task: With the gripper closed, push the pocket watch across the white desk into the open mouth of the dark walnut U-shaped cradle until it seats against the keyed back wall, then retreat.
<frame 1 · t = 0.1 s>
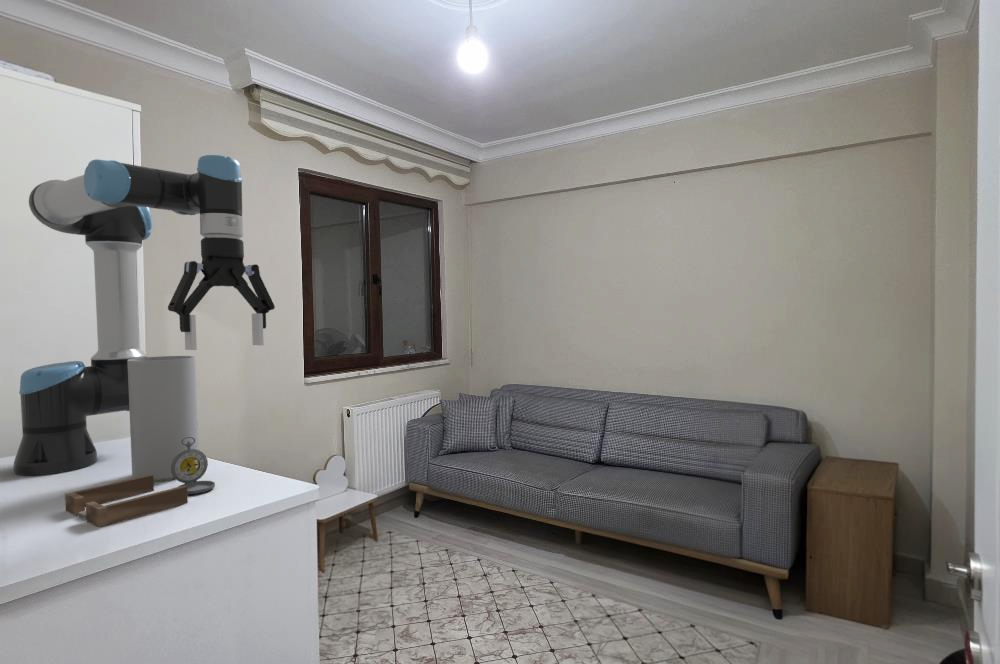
hand: (226, 347, 115), 28 cm above the table, fingers open, 13 cm apart
cradle: (128, 506, 105), on the table
cylinder vase: (166, 474, 126), on the table
pocket watch: (195, 490, 115), on the table
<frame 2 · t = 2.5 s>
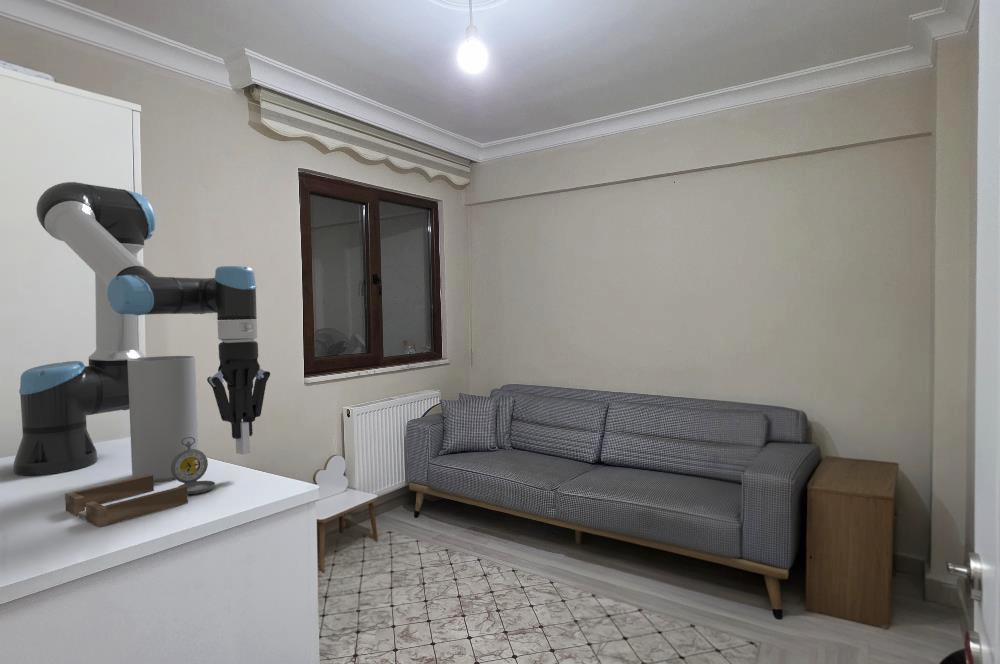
hand: (243, 452, 123), 5 cm above the table, fingers closed
nothing on the table moved.
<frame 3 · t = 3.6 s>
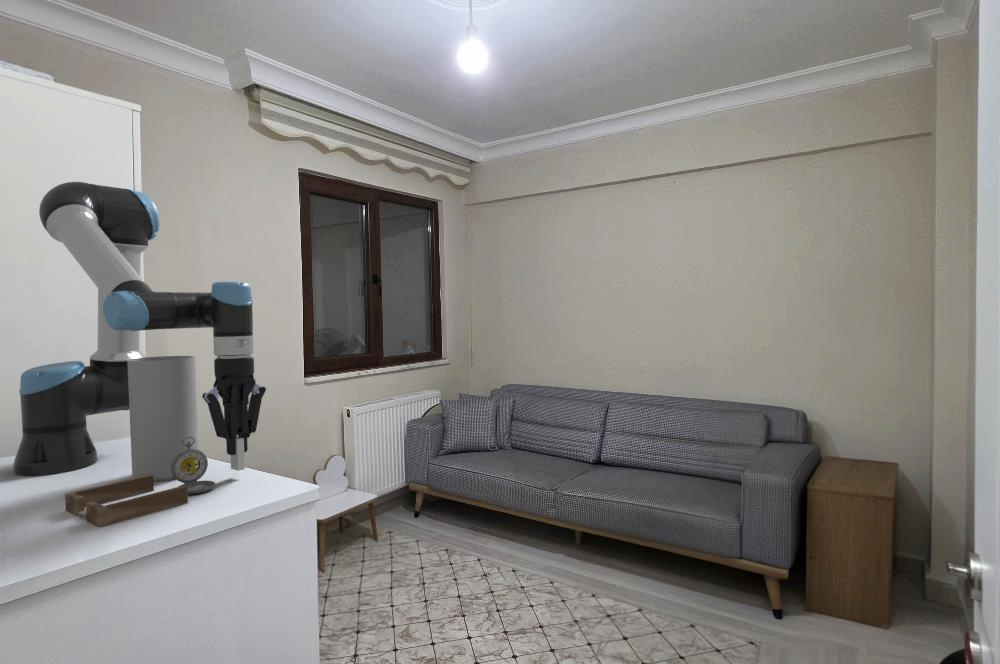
hand: (237, 468, 122), 2 cm above the table, fingers closed
nothing on the table moved.
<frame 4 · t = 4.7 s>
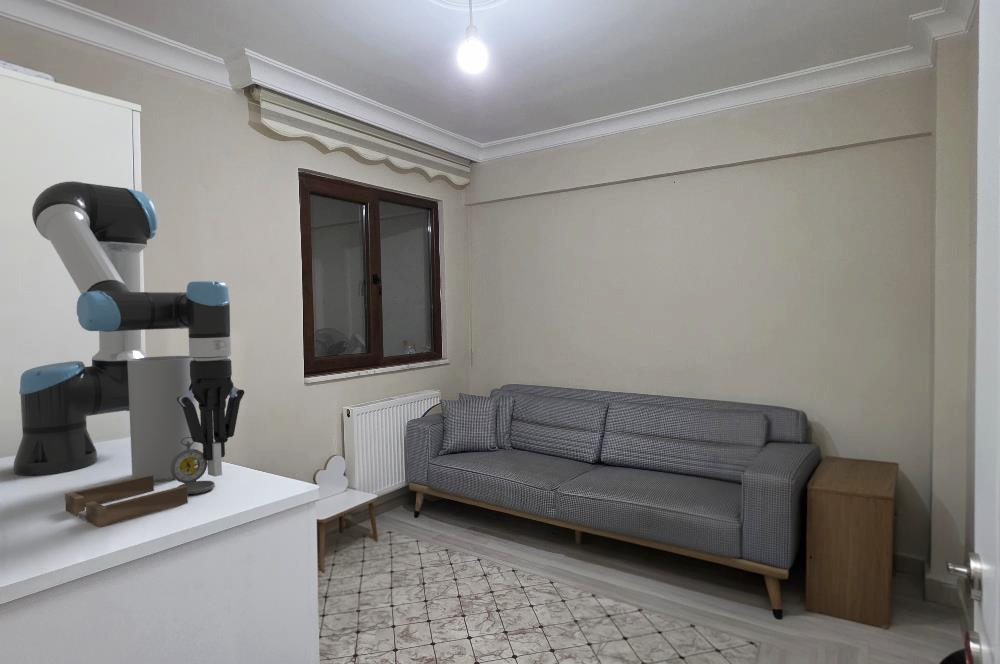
hand: (214, 474, 119), 2 cm above the table, fingers closed
pocket watch: (194, 490, 115), on the table, touching gripper
everything else where it was.
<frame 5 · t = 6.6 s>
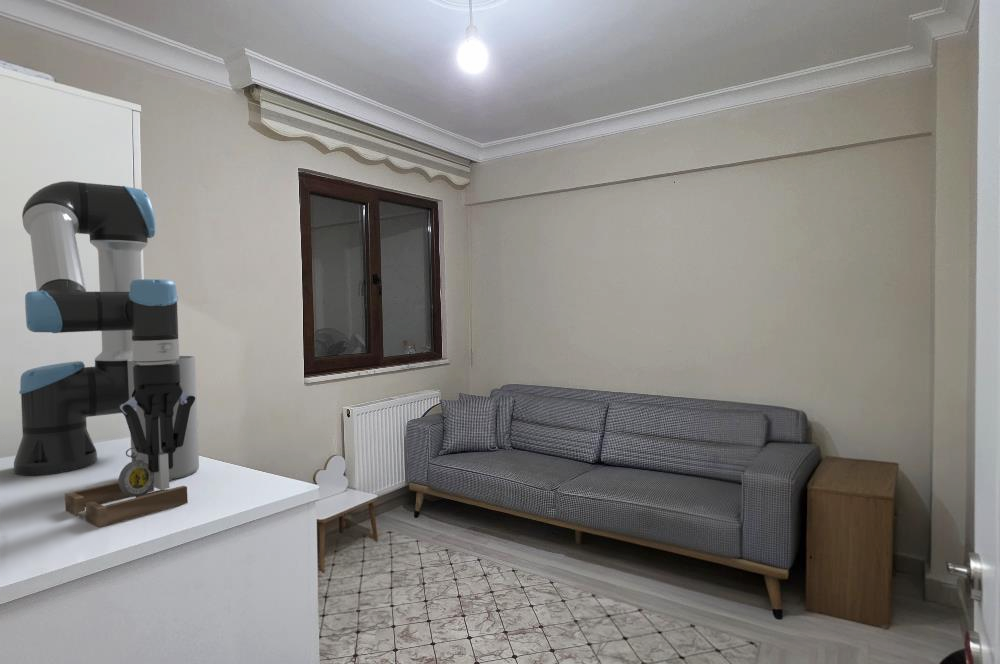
hand: (161, 487, 110), 2 cm above the table, fingers closed
pocket watch: (151, 501, 108), on the table, touching gripper
everything else where it was.
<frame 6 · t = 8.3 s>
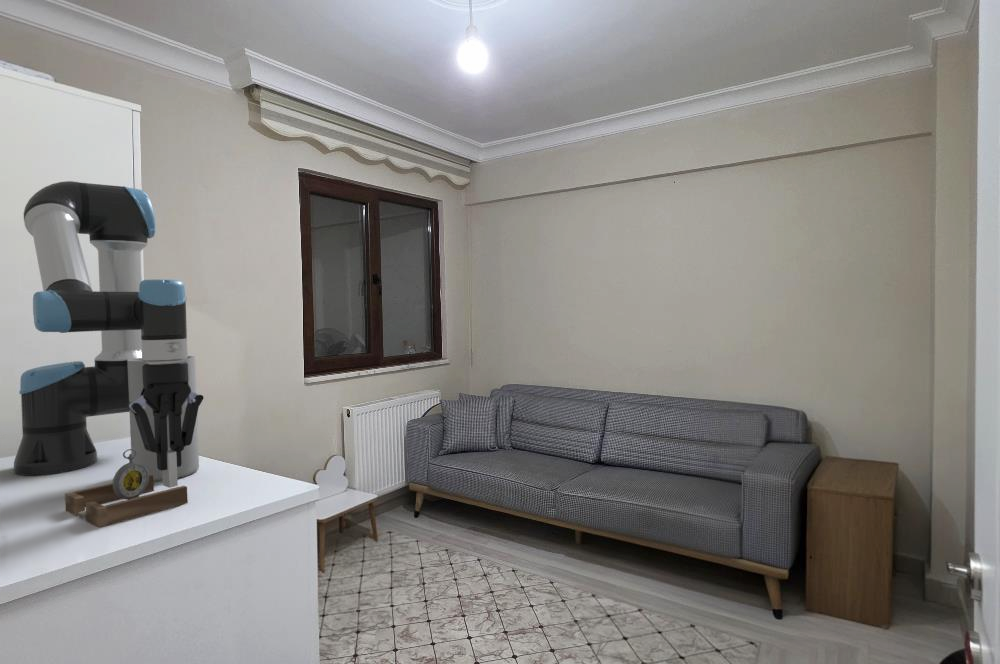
hand: (170, 485, 111), 2 cm above the table, fingers closed
pocket watch: (142, 505, 107), on the table
everything else where it was.
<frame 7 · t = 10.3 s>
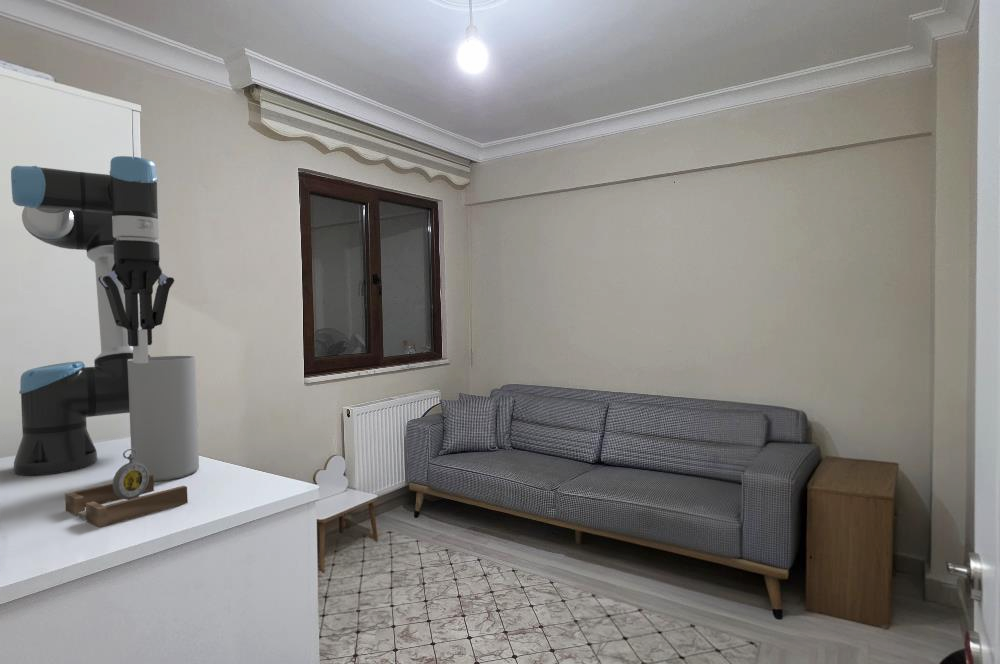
hand: (140, 362, 114), 25 cm above the table, fingers closed
nothing on the table moved.
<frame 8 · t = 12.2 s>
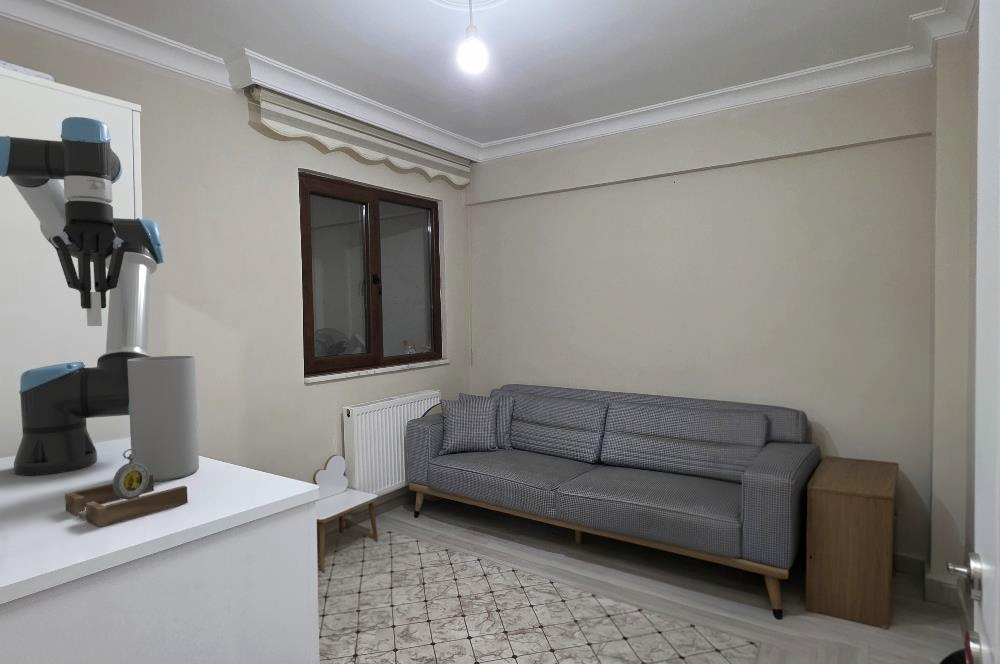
hand: (94, 325, 113), 32 cm above the table, fingers closed
nothing on the table moved.
at the end: pocket watch inside the target area on the cradle (3.6 cm from its centre), point 0.0 cm above the cradle's base; pocket watch moved 10.0 cm from its start; the gripper is holding nothing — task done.
